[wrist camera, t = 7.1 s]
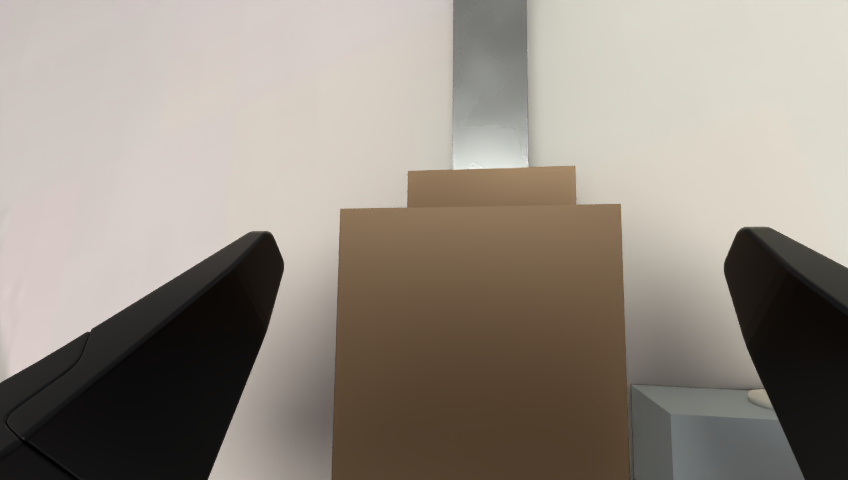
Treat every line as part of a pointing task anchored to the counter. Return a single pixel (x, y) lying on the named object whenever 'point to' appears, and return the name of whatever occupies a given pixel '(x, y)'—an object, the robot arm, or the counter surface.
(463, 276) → the wooden t-block
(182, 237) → the counter surface
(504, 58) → the rail
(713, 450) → the box
